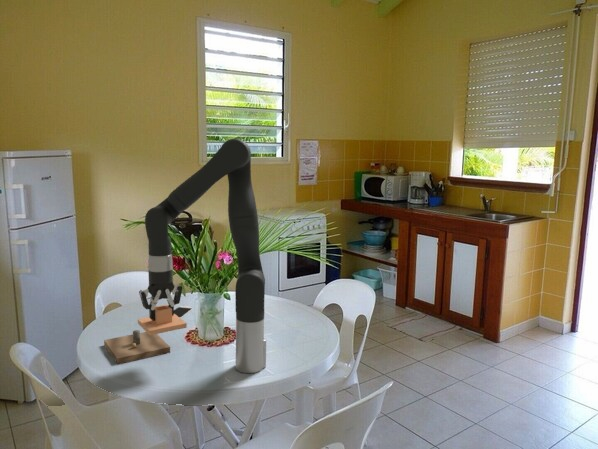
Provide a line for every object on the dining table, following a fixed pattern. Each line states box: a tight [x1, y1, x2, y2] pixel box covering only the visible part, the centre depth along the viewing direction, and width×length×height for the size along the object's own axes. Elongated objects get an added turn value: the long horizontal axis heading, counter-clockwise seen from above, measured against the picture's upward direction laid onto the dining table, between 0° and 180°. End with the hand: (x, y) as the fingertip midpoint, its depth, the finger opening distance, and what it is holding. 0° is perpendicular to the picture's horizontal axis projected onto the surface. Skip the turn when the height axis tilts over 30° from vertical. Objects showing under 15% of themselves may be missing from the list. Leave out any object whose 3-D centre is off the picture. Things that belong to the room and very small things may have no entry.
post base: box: [103, 329, 171, 365], centre depth 169 cm, size 18×18×6 cm
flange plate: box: [137, 304, 188, 335], centre depth 154 cm, size 12×12×6 cm
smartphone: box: [174, 305, 195, 319], centre depth 208 cm, size 7×15×1 cm, turn 169°
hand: (161, 318), depth 154 cm, fingers closed on flange plate, 5 cm apart
